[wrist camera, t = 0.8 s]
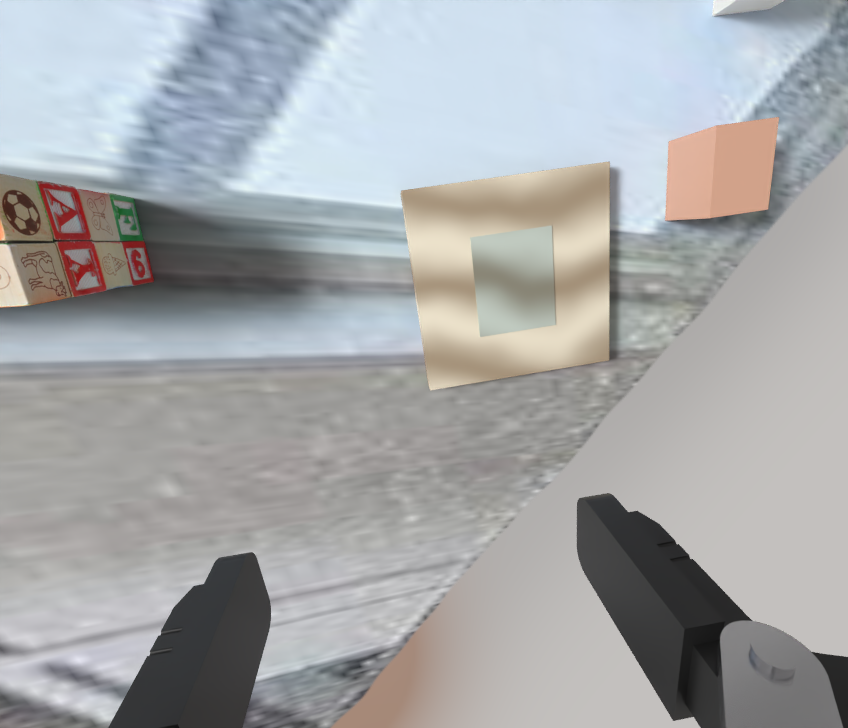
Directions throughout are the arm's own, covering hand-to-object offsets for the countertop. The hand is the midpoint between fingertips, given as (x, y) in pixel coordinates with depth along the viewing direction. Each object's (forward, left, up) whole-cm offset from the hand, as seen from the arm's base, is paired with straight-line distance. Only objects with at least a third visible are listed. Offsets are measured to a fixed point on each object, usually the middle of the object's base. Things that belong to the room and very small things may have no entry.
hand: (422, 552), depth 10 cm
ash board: (-2, +10, -26) cm, 28 cm away
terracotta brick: (-8, +26, -26) cm, 38 cm away
